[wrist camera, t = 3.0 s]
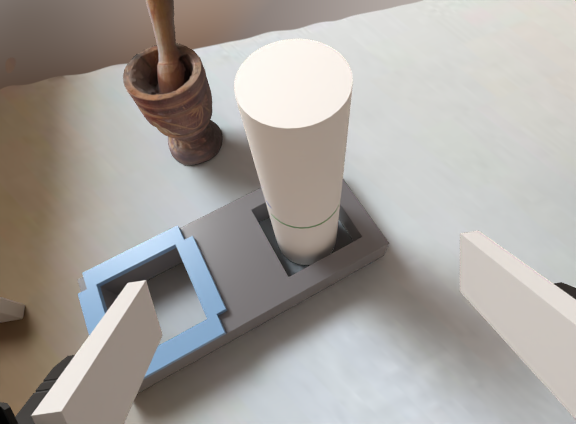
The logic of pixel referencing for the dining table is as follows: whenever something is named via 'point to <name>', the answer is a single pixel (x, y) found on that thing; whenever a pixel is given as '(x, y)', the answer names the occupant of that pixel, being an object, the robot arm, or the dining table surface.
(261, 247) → the socket rack
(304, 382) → the dining table surface
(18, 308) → the lighter
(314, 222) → the cylindrical container
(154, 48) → the mortar and pestle
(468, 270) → the robot arm
